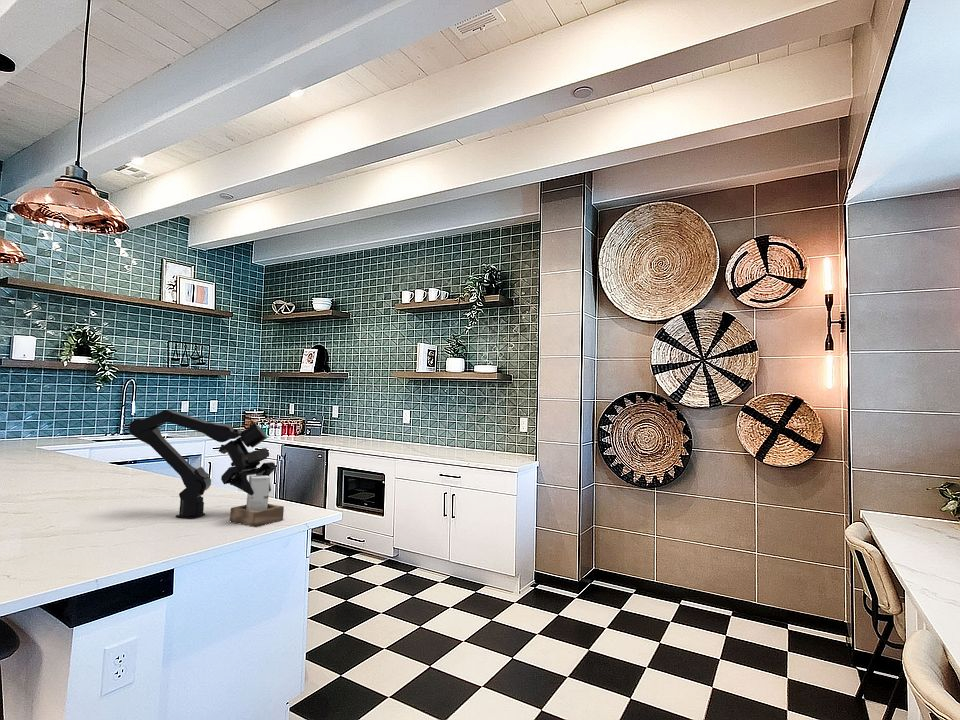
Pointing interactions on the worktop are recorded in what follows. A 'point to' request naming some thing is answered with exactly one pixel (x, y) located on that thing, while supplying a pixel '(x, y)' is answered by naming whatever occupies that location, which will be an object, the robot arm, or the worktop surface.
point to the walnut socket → (256, 515)
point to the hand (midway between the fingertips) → (261, 492)
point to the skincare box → (258, 493)
